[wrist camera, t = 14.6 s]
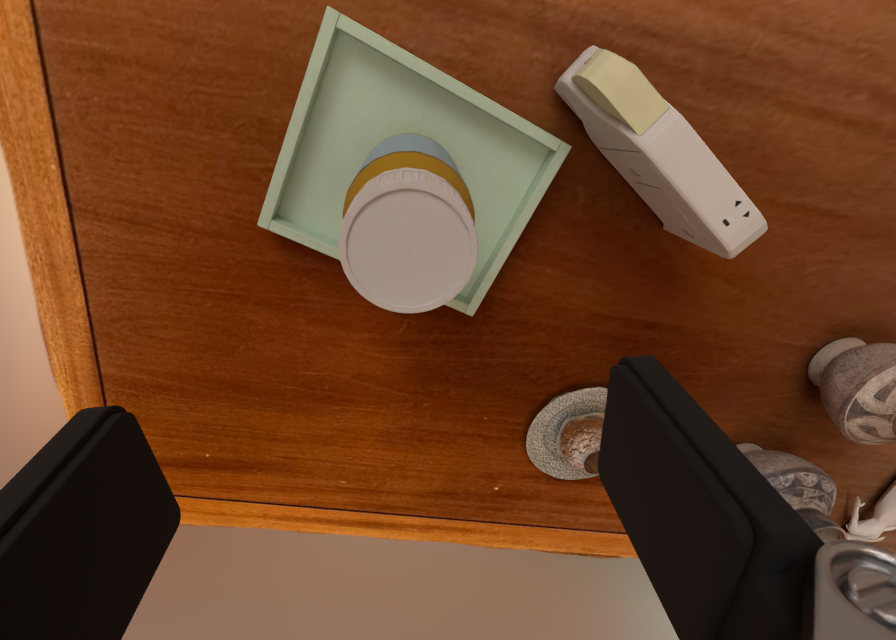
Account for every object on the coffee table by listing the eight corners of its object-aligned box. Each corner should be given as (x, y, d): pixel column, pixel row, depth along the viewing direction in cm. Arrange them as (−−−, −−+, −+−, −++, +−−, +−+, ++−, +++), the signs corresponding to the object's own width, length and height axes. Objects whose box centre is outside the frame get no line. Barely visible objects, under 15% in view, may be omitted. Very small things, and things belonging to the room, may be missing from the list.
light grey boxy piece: (569, 59, 32) (693, 205, 36) (540, 91, 33) (664, 231, 37) (618, 24, 22) (786, 234, 26) (574, 72, 23) (742, 268, 27)
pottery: (913, 339, 44) (1071, 420, 33) (741, 506, 54) (821, 609, 43) (833, 299, 41) (978, 374, 31) (667, 483, 51) (733, 588, 41)
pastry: (514, 470, 49) (524, 506, 44) (535, 378, 43) (548, 409, 39) (620, 472, 50) (638, 507, 46) (654, 383, 44) (678, 414, 40)
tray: (265, 216, 34) (256, 225, 32) (333, 10, 28) (327, 5, 26) (469, 304, 39) (472, 317, 37) (562, 142, 33) (572, 146, 31)
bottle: (442, 240, 35) (461, 335, 22) (353, 216, 34) (315, 303, 21) (470, 149, 32) (510, 196, 19) (373, 118, 31) (344, 146, 18)
